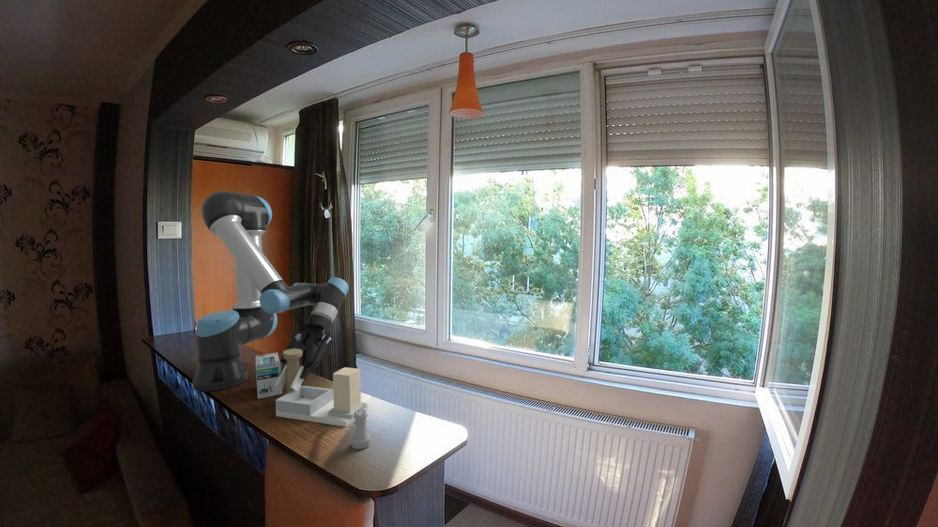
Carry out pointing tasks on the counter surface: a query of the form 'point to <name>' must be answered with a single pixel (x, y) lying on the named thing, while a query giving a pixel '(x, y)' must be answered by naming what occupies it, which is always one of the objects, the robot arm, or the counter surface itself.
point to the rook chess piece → (360, 431)
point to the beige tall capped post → (292, 365)
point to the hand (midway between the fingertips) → (286, 388)
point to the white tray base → (325, 400)
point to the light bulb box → (267, 374)
